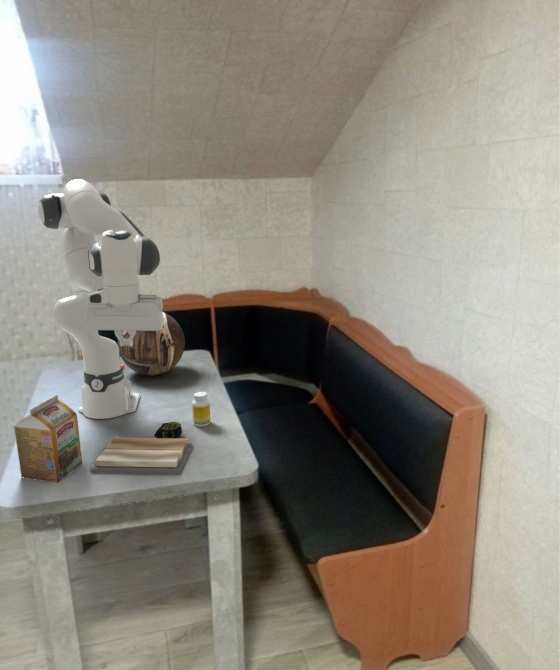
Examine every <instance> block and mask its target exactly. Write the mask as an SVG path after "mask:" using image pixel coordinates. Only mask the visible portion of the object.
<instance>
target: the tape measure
mask: <svg viewBox="0 0 560 670" xmlns="http://www.w3.org/2000/svg"><path fill="white" fill-rule="evenodd" d="M182 433H183V428H182V424H181V423H179V422H177V421H169V422H163V423H162V424H161V425H160V426H159V428H158V429H157V430H156V431H155V433H154V438H180V437H181V435H182Z"/></svg>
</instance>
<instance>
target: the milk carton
mask: <svg viewBox="0 0 560 670" xmlns="http://www.w3.org/2000/svg"><path fill="white" fill-rule="evenodd" d="M13 428H14V435H15V441H16V448H17V449H16V450H17V457H18V462H19V470H20V476H21V478H22V477H24V478H23V479H27V478H29V480H34V479H36V480H35V481H42V482H47V483H48V482H50V483H55V484H57V483H59V482H61V481H62V480H63V479H64V478H65V477H67V476H69V475H70V474H71V473H72V472H73V471H75V470H76V469H77V468H78V467H80V466H81V465H83V457H82V456H83V455H82V447H81V446H82V445H81V439H80V438H81V437H80V430H79V421H78V414H77V412H76V411H75V410H73V408H71V407H70V406H69V405H67V404H66V403H65V402H62V401H61V400H60V399H59V397H58V394H55V395H52V396H51V397H49V398H48V399H46V400H44V401H42V402H40V403H39V404H37V405H35V406H33V407H31V408H30V409H29V415H27V416H25V417H23V418H21V419H20V420H19V421H17V423H16V424H15V425H14V426H13Z"/></svg>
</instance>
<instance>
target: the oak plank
mask: <svg viewBox="0 0 560 670" xmlns="http://www.w3.org/2000/svg"><path fill="white" fill-rule="evenodd" d="M189 443H190V442H189V438H180V437H178V438H156V437H113V439H112V440H111V441H110V442H109V444H108V445H107V447H106V448H105V449H125V450H182V454H184V452H185V450H186V448H187V446H188V444H189Z"/></svg>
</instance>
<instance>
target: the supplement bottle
mask: <svg viewBox="0 0 560 670" xmlns="http://www.w3.org/2000/svg"><path fill="white" fill-rule="evenodd" d="M191 410H192V411H191V412H192V424H193V425H194V426H196V427H207V426H208V425H210V424H211V402H210V400H209V399H208V393H207V392H204V391H198V392H195V393H193V400H192V402H191Z"/></svg>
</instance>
